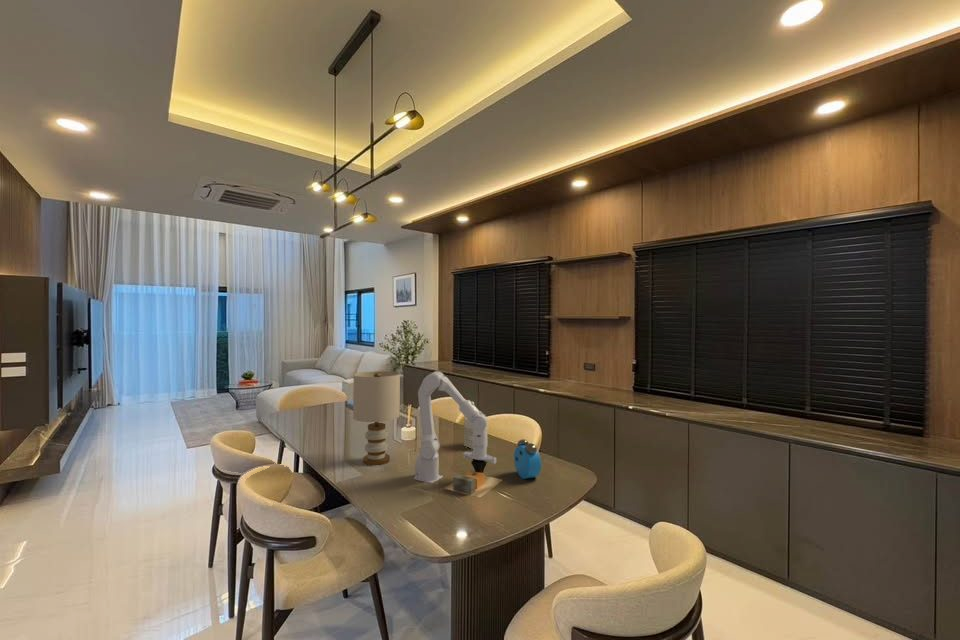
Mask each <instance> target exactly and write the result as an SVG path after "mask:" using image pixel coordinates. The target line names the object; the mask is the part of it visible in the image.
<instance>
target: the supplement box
mask: <svg viewBox="0 0 960 640" xmlns="http://www.w3.org/2000/svg"><path fill="white" fill-rule="evenodd" d="M463 421H464V424H463V425H464V431H463V433H464V436H463V438H464V439H463V441H464V443H463V446H467V447H469V448H471V449H470V450H472V449H473V428H472V422H470V421H469V420H468V419H467V418H466V417H464V420H463ZM486 433H487V434H488V423H487V424H486ZM467 447H466V448H467ZM469 448H468V449H469Z"/></svg>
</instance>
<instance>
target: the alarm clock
mask: <svg viewBox="0 0 960 640" xmlns="http://www.w3.org/2000/svg"><path fill="white" fill-rule="evenodd" d="M516 446H517V447H516V448H515V450H514V453H513V462H514V467H515V470H516V473H517V474H518V476H519V477H520V478H521V479H524V480H526V479H531V478H534V480H535V479H537V477H539V475H541V474H540V473H541V470H542V459H541V456H540V452H539V450H538V447H537V445H535V444H534V443H531V442H530V443H529V441H528V440H527V439H523V438H522V439H519V440H518V441H517V443H516Z"/></svg>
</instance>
